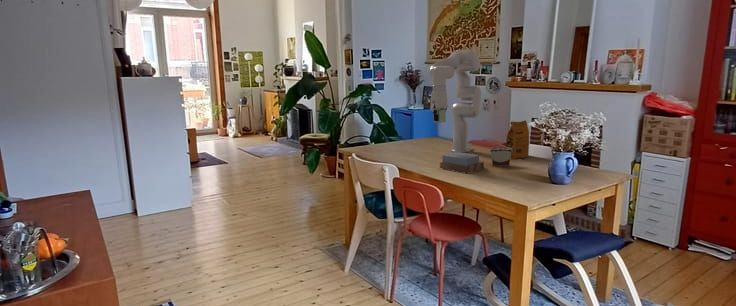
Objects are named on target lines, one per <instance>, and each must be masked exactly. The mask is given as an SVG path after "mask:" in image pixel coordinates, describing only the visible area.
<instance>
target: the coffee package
mask: <svg viewBox="0 0 736 306" xmlns="http://www.w3.org/2000/svg"><path fill="white" fill-rule="evenodd" d="M505 141H506V142H505V147H509V148H512V151H513V152H511V159H513V160H515V159H525V158H528V157H529V153H530V130H529V127H528V123H527V120H522V121H510V127H509V130H508V132H507V135H506V139H505Z"/></svg>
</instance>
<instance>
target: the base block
mask: <svg viewBox="0 0 736 306" xmlns="http://www.w3.org/2000/svg"><path fill="white" fill-rule="evenodd" d="M484 163H485V162H484V161H481V160H479V163H475V164H472V165H469V166H462V165H456V164H449V163H444V162H443V161H442V162H440V163H439V169H440V168H443V169H442V170H445V169H449V170H448V171H450V170H454V171H453V172H456V171H459V172H458V173H461V172H465V173H464V174H469V173H468V172H470V173H473V172H476V171H478V170H482V169H484V168H485V164H484ZM475 170H476V171H475ZM472 171H473V172H472Z"/></svg>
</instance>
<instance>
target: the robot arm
mask: <svg viewBox="0 0 736 306" xmlns="http://www.w3.org/2000/svg"><path fill="white" fill-rule="evenodd" d="M480 68H481V60H480V58H479V57H478V55H477V53H476V52H475V51H473V50H472V49H458V50H457V49H456V50H455V51H453V52H452V53H451V54H450V55H449V56H448V57H447V58H444V59H440V60H438V61H435V62H434V63H433V64H432V65H431V66H430V68H429V71H428V74H429V77H430V78H431V80H432V91H431V95H430V108H429V109H430V111H431V113H432V114H434V121H439V114H438V110H439V109H443V110H446V111H447V110H448V108H449V105H448V93H447V80H450V79H452V78H454V76H455V75H456V79H457V81H456V89H455V98H456V100H457V101H460V102H456V103H453V104H452V107H451V115H452V130H453V131H452V148H451V149H450V152H451V153H453V152H460V153H469V152H471V148H469V147H472V143H469V124H468V121H467V119H466V118H469V119H475V118H478V116H479V115H480V110H481V100H482V90H481V88H480V86H478V85H477V86H476V85H471V83H472V82H471V80H472V78H471V76H470V74H469V73H468V72H477V71H478V70H480ZM435 110H436V111H435Z"/></svg>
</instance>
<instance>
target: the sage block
mask: <svg viewBox="0 0 736 306" xmlns="http://www.w3.org/2000/svg"><path fill="white" fill-rule="evenodd" d="M435 111H436V110H435ZM432 114H433V113H432ZM438 114H439V121H434V114H433V115H432V123H435V124H436V123H437V124H438V123H440V124H441V123H442V124H443V123H446V121H447V120H446V118H447V117H446V114H447V110H443V109H439V110H438Z"/></svg>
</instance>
